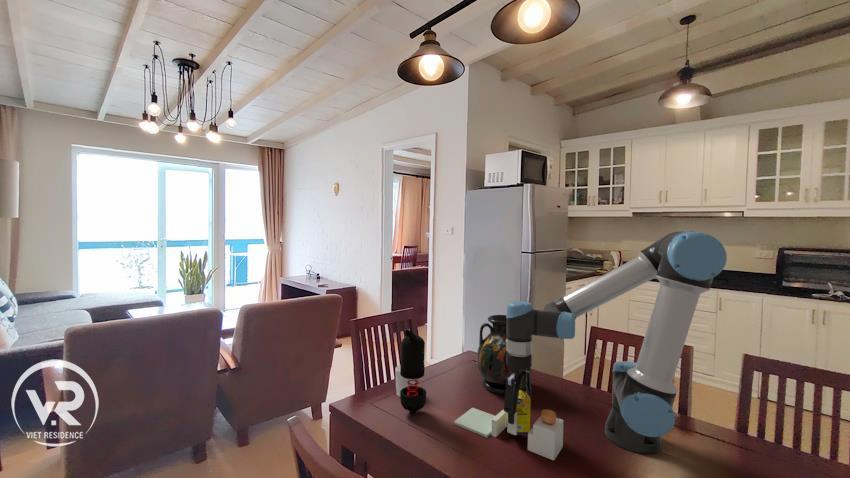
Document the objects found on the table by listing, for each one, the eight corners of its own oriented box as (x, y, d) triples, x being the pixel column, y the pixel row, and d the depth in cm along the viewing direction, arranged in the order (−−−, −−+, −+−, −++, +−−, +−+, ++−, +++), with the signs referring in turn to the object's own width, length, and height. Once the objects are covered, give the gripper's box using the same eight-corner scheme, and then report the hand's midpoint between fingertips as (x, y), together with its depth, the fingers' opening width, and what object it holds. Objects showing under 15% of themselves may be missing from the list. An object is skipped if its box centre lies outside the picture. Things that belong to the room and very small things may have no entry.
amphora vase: (473, 395, 136) (474, 322, 135) (477, 373, 157) (478, 310, 156) (531, 402, 131) (533, 327, 130) (528, 378, 152) (529, 313, 151)
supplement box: (530, 435, 105) (531, 398, 105) (510, 434, 105) (510, 398, 105) (525, 424, 111) (525, 389, 111) (506, 424, 111) (506, 389, 111)
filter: (419, 424, 115) (420, 332, 114) (393, 418, 118) (395, 329, 118) (433, 405, 128) (434, 322, 127) (409, 400, 131) (411, 319, 130)
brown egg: (557, 434, 103) (558, 412, 103) (553, 441, 100) (553, 418, 100) (543, 429, 105) (544, 408, 105) (538, 435, 102) (539, 413, 102)
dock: (562, 446, 104) (563, 420, 104) (553, 460, 98) (554, 432, 98) (502, 424, 116) (503, 400, 115) (491, 435, 109) (492, 409, 109)
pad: (504, 421, 118) (504, 419, 118) (486, 437, 108) (486, 435, 108) (472, 409, 125) (472, 407, 125) (453, 424, 115) (453, 421, 115)
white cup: (419, 392, 137) (419, 367, 137) (407, 400, 131) (408, 374, 130) (403, 387, 141) (403, 362, 141) (390, 395, 135) (391, 369, 135)
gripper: (520, 342, 118) (520, 409, 119) (491, 359, 102) (491, 438, 102) (543, 346, 114) (542, 416, 114) (516, 365, 97) (515, 447, 98)
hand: (518, 426), depth 108 cm, fingers closed on supplement box, 8 cm apart
